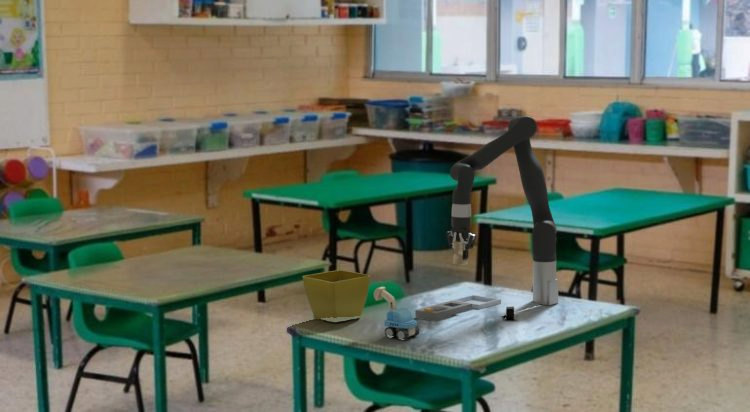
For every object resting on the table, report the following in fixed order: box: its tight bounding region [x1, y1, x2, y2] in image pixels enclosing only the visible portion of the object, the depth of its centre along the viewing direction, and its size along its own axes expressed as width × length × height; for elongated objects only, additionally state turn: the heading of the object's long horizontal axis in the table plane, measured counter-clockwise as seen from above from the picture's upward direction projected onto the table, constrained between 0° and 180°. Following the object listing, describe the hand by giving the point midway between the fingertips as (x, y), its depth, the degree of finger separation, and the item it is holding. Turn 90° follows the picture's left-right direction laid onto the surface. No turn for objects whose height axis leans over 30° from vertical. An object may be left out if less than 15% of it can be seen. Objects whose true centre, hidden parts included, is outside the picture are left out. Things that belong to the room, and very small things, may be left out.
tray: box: [450, 294, 502, 310], centre depth 496 cm, size 14×14×2 cm
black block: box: [501, 306, 519, 322], centre depth 474 cm, size 12×7×5 cm, turn 172°
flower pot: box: [302, 269, 371, 320], centre depth 476 cm, size 19×19×17 cm
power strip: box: [414, 300, 473, 322], centre depth 482 cm, size 10×22×4 cm, turn 137°
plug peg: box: [452, 241, 469, 266], centre depth 488 cm, size 4×4×9 cm
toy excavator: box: [373, 286, 420, 340], centre depth 447 cm, size 9×17×17 cm, turn 51°
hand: (460, 258), depth 488 cm, fingers closed on plug peg, 4 cm apart
